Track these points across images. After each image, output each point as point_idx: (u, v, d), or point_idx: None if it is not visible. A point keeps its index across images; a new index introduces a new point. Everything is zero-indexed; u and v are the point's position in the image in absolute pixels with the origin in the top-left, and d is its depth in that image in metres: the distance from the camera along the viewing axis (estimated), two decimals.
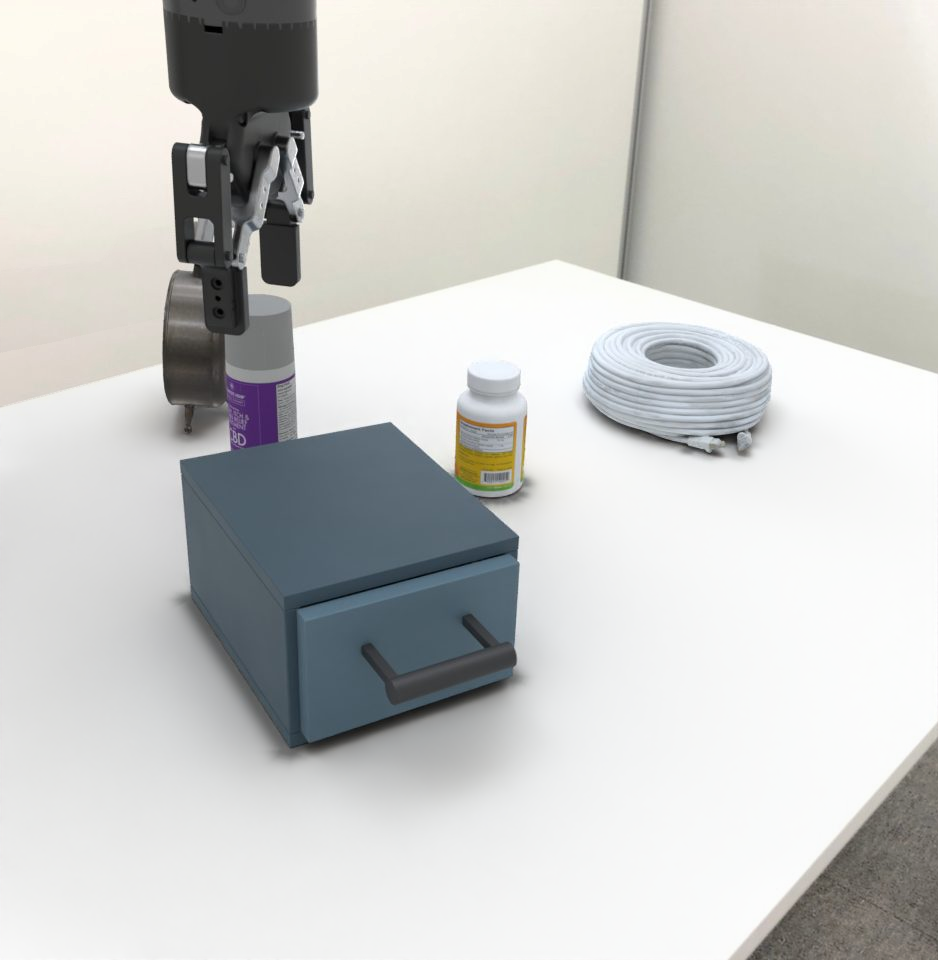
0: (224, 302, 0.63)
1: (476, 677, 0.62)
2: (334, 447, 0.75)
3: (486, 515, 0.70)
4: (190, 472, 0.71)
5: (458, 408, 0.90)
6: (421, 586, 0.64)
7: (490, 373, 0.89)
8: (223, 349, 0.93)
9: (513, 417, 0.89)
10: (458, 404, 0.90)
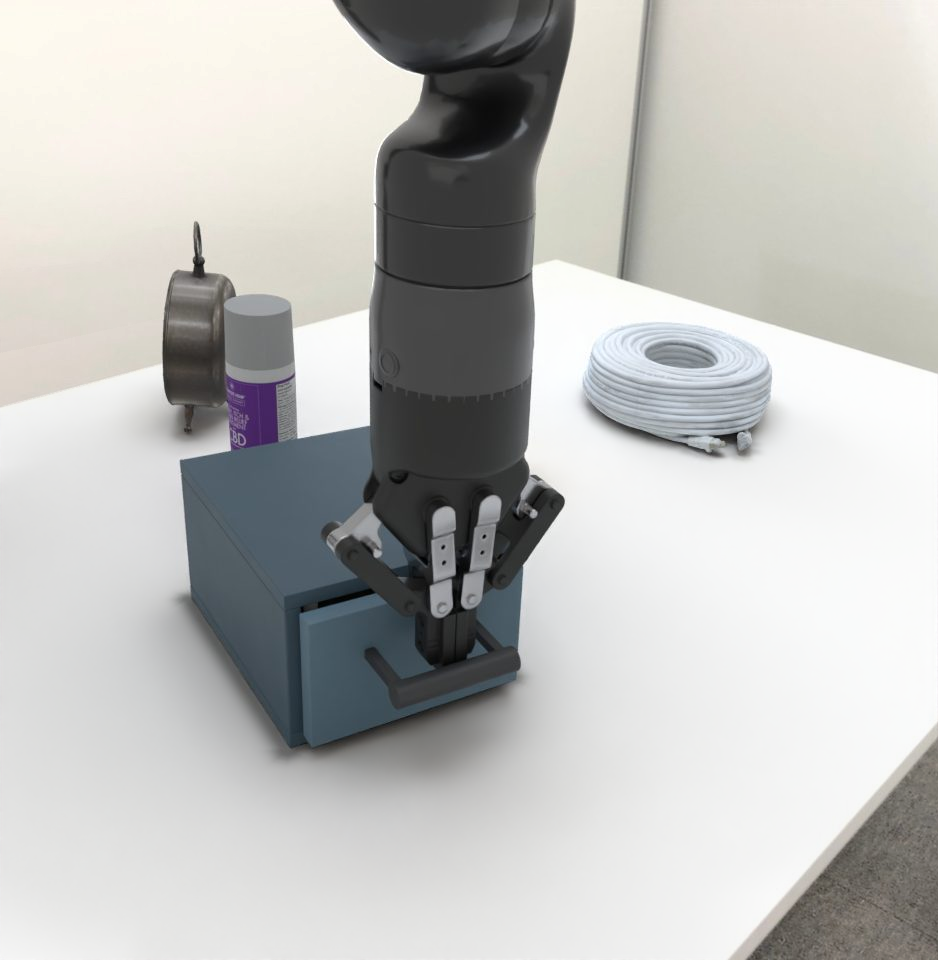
0: (424, 640, 0.61)
1: (480, 681, 0.62)
2: (334, 447, 0.75)
3: None
4: (190, 472, 0.71)
5: None
6: None
7: None
8: (223, 349, 0.93)
9: None
10: None
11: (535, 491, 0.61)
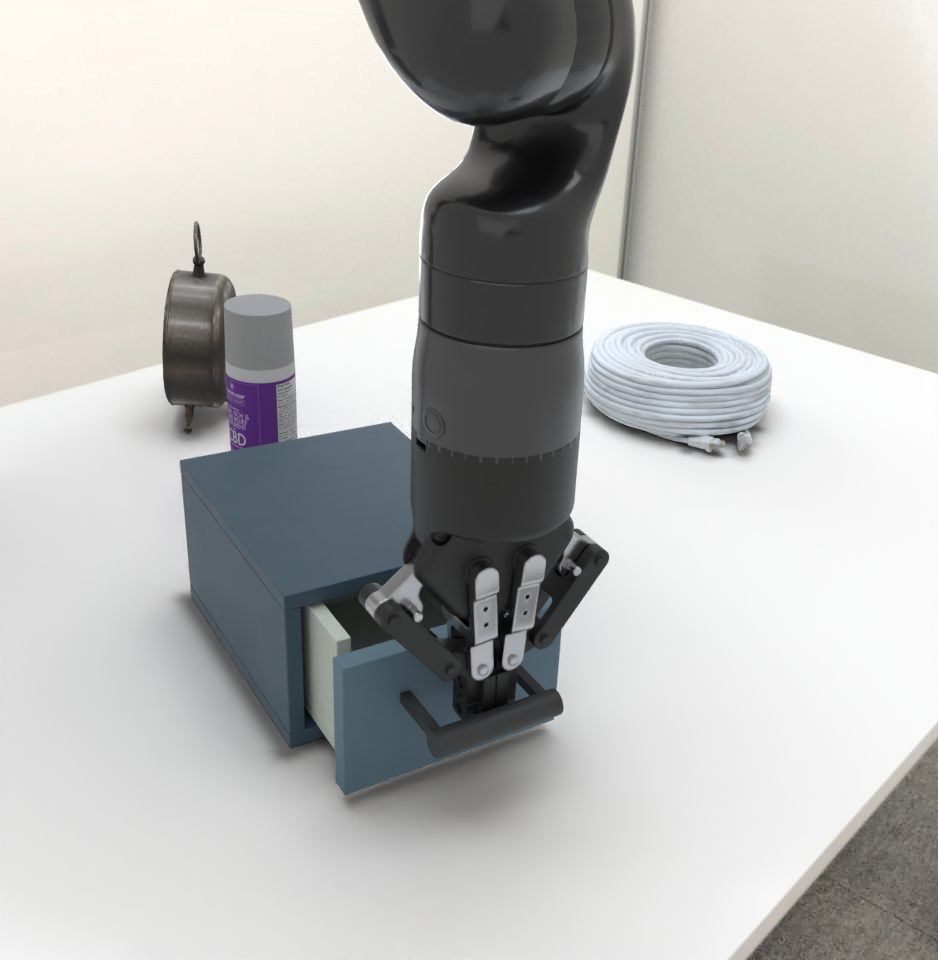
0: (463, 701, 0.59)
1: (521, 727, 0.59)
2: (334, 447, 0.75)
3: None
4: (190, 472, 0.71)
5: None
6: None
7: None
8: (223, 349, 0.93)
9: None
10: None
11: (579, 547, 0.59)
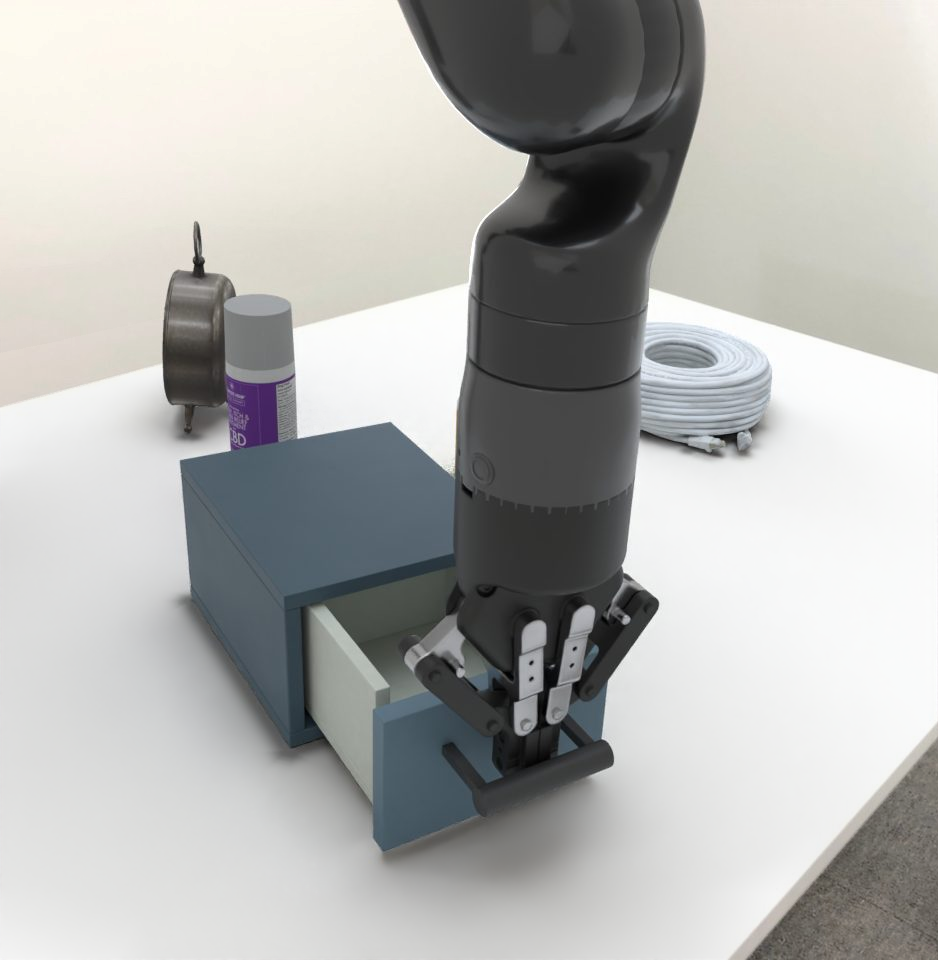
0: (503, 757, 0.56)
1: (571, 782, 0.56)
2: (334, 447, 0.75)
3: None
4: (190, 472, 0.71)
5: None
6: None
7: None
8: (223, 349, 0.93)
9: None
10: None
11: (627, 594, 0.56)
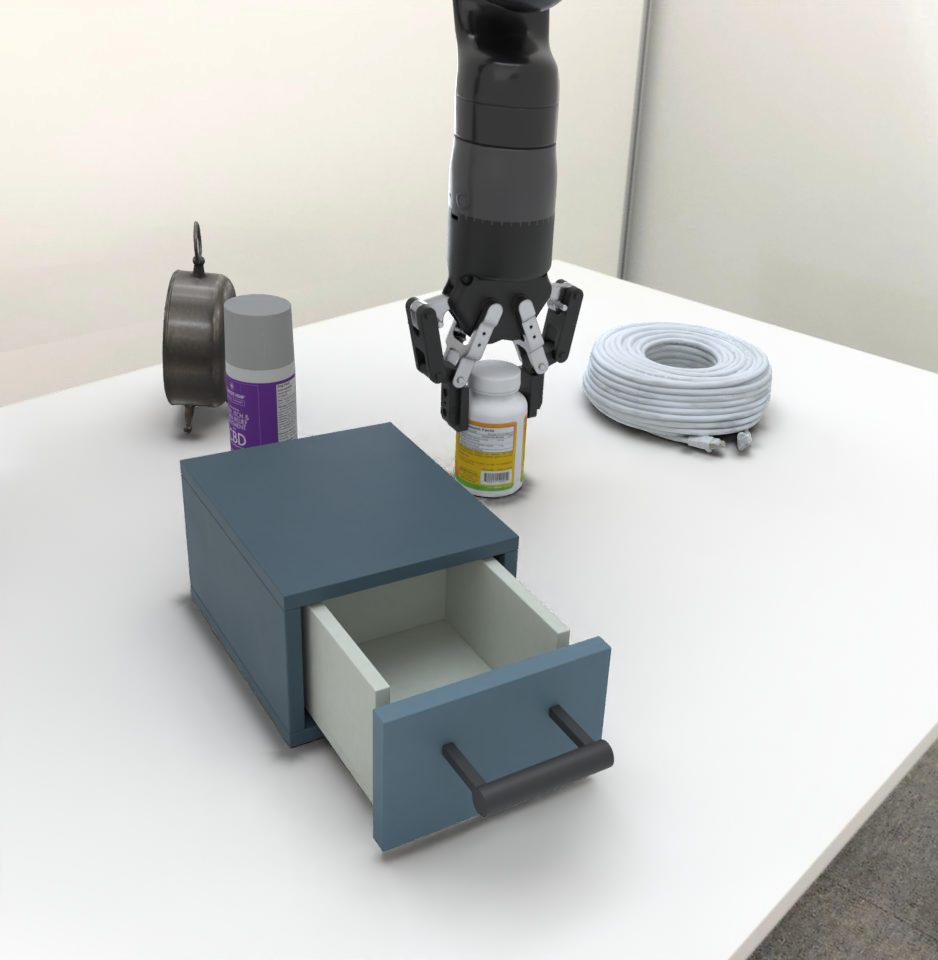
0: (447, 406, 0.88)
1: (571, 782, 0.56)
2: (334, 447, 0.75)
3: (486, 515, 0.70)
4: (190, 472, 0.71)
5: None
6: (507, 678, 0.58)
7: (490, 373, 0.89)
8: (223, 349, 0.93)
9: (513, 417, 0.89)
10: None
11: (561, 292, 0.90)
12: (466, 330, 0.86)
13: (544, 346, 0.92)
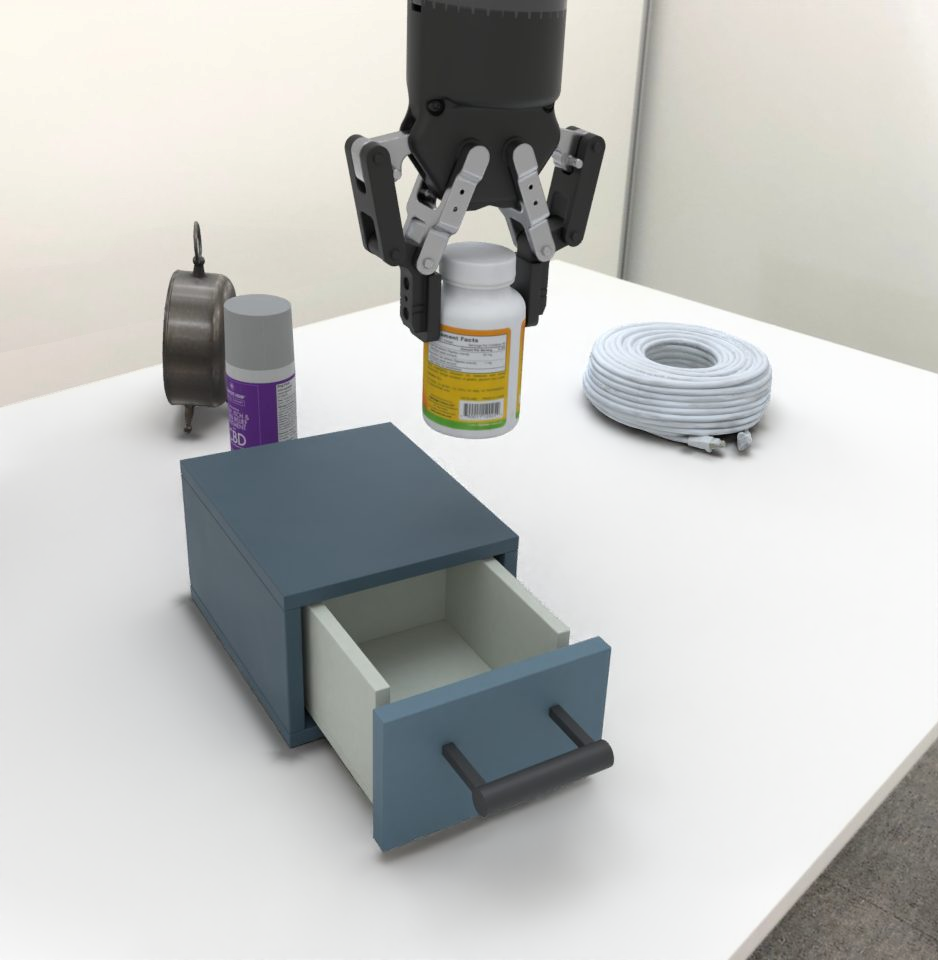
0: (409, 303, 0.61)
1: (571, 782, 0.56)
2: (334, 447, 0.75)
3: (486, 515, 0.70)
4: (190, 472, 0.71)
5: None
6: (507, 678, 0.58)
7: (472, 256, 0.61)
8: (223, 349, 0.93)
9: (505, 321, 0.62)
10: None
11: (573, 141, 0.62)
12: (436, 188, 0.58)
13: (549, 223, 0.64)
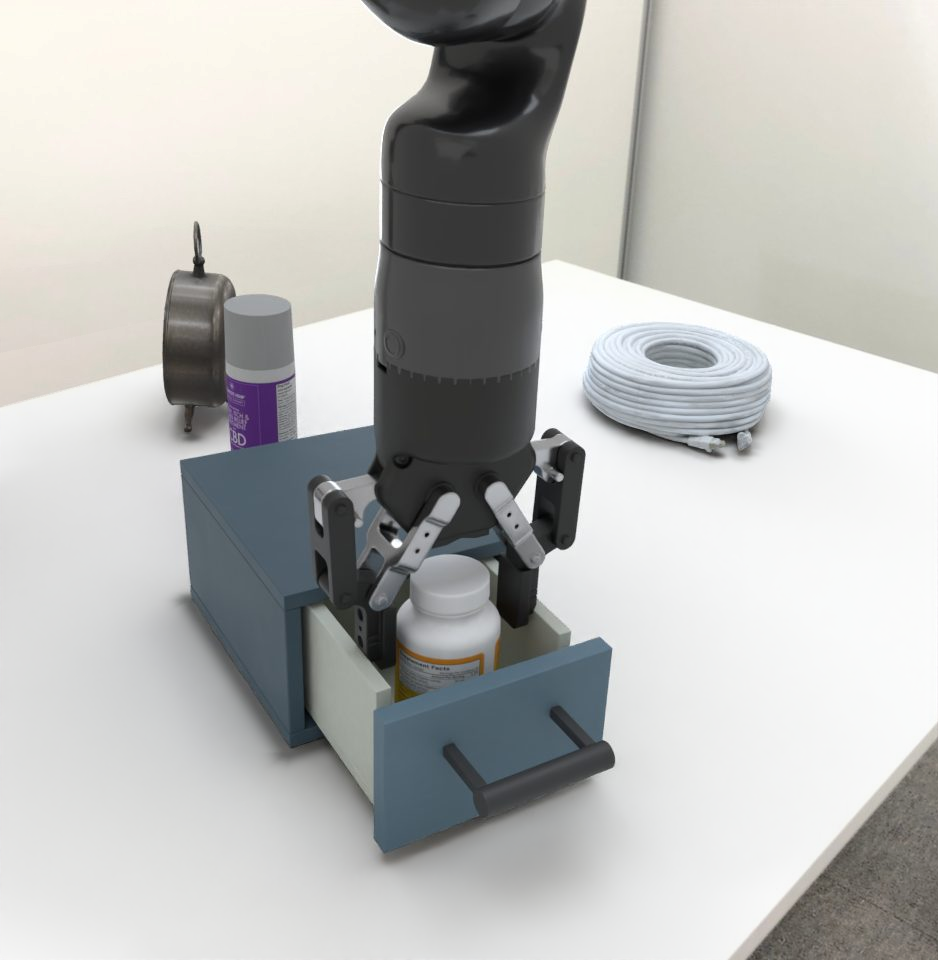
0: (363, 634, 0.58)
1: (572, 783, 0.56)
2: (334, 447, 0.75)
3: None
4: (190, 472, 0.71)
5: (397, 631, 0.60)
6: (508, 679, 0.58)
7: (444, 582, 0.59)
8: (223, 349, 0.93)
9: (478, 648, 0.60)
10: (397, 625, 0.60)
11: (551, 454, 0.60)
12: None
13: (539, 525, 0.62)
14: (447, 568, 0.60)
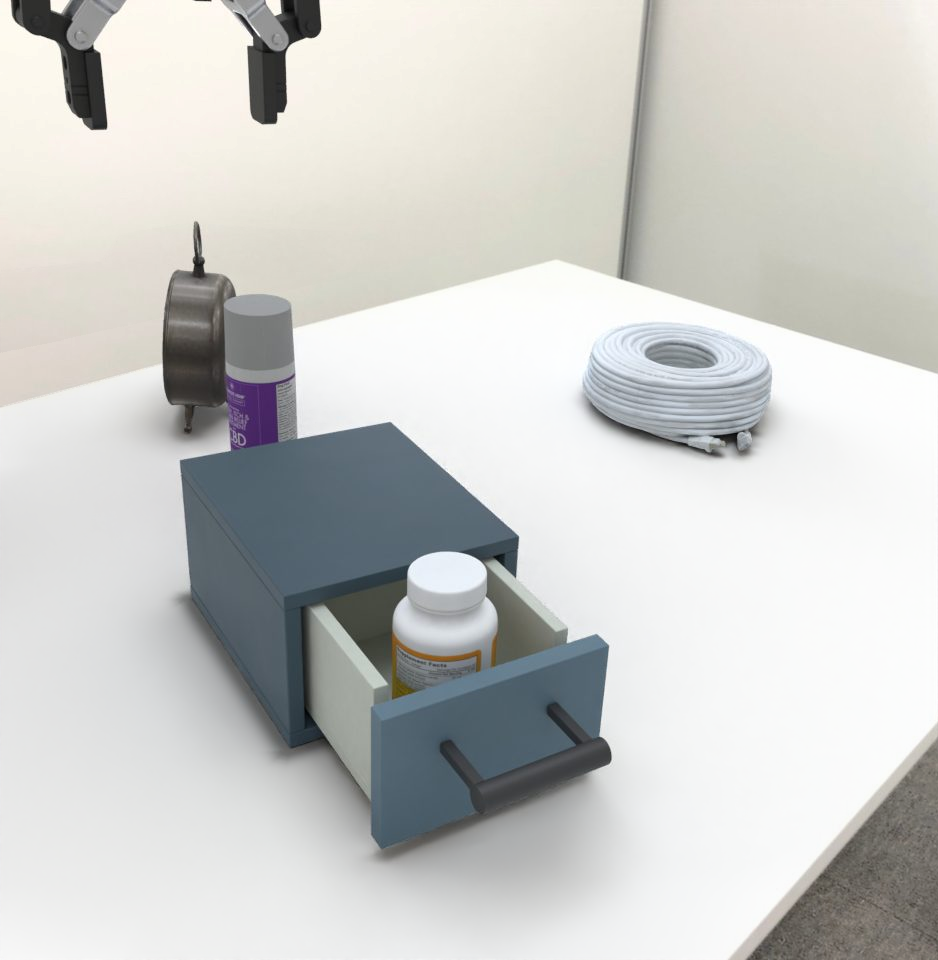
0: (69, 85, 0.57)
1: (568, 779, 0.56)
2: (334, 447, 0.75)
3: (486, 515, 0.70)
4: (190, 472, 0.71)
5: (394, 628, 0.60)
6: (505, 675, 0.58)
7: (441, 579, 0.59)
8: (223, 349, 0.93)
9: (475, 645, 0.60)
10: (394, 622, 0.60)
11: None
12: None
13: (285, 14, 0.62)
14: (444, 565, 0.61)
